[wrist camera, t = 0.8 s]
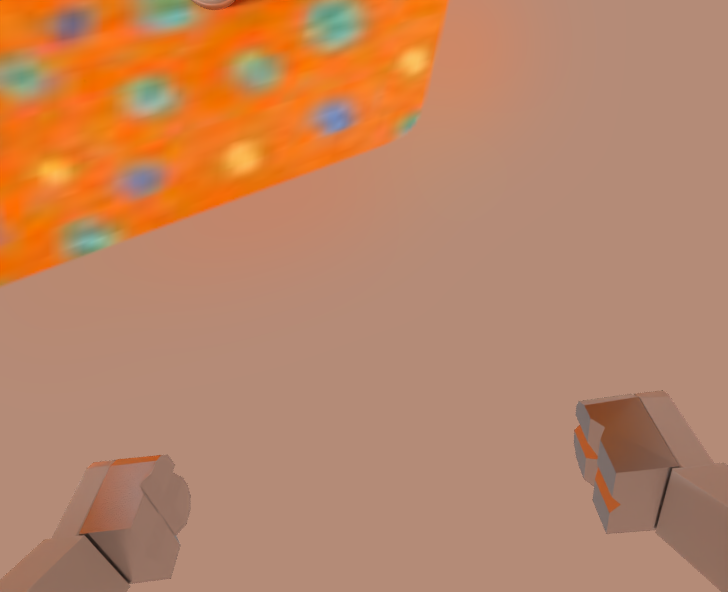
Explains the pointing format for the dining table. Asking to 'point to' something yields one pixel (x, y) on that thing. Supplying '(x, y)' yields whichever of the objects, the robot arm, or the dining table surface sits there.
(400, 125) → the dining table surface
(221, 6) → the ash post
